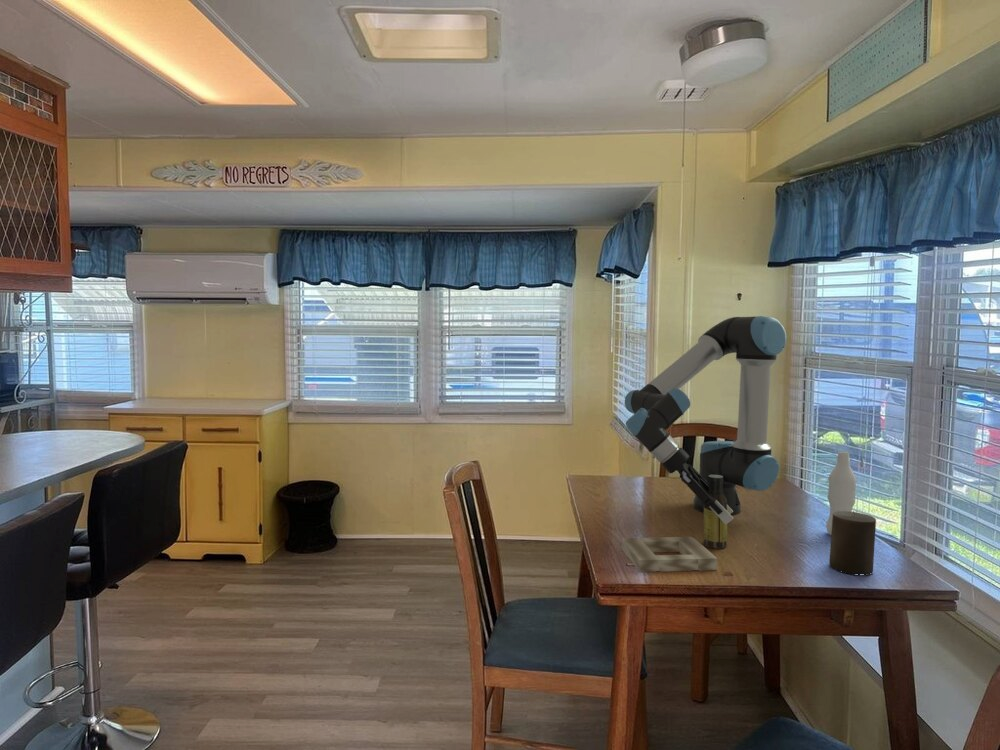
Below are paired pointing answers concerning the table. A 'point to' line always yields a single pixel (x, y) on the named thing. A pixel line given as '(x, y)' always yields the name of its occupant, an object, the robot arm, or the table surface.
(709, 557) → the birch stand
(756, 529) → the table surface
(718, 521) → the sauce bottle
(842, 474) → the water bottle
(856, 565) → the pillar candle
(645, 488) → the table surface
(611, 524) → the table surface
